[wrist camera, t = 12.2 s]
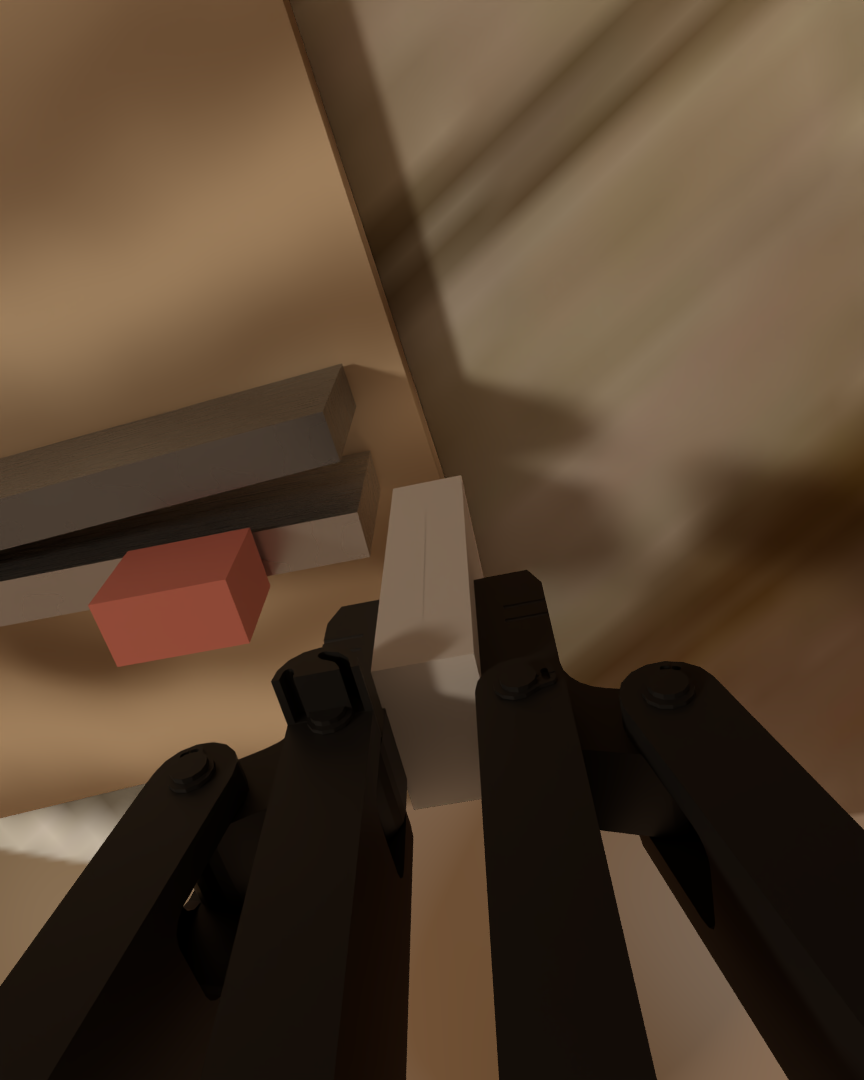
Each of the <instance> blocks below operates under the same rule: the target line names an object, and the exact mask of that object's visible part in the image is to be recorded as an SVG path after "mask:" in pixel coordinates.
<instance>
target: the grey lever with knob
mask: <svg viewBox="0 0 864 1080" xmlns="http://www.w3.org/2000/svg"><path fill="white" fill-rule="evenodd" d="M355 409H356V404H355V401H354V398H353V395H352V392H351V389H350V386H349V383H348V380H347V377H346V374H345V371H344V368H343V364H338V365H335V366H331V367H327V368H324V369H320V370H317V371H313V372H309V373H306V374H302V375H299V376H295V377H291V378H288V379H284V380H281V381H277V382H273V383H270V384H266V385H263V386H259V387H255V388H252V389H248V390H245V391H241V392H237V393H234V394H230V395H227V396H223V397H219V398H216V399H212V400H209V401H205V402H201V403H198V404H194V405H191V406H187V407H183V408H180V409H176V410H173V411H169V412H165V413H162V414H158V415H155V416H151V417H147V418H144V419H140V420H137V421H133V422H129V423H126V424H122V425H119V426H115V427H111V428H108V429H104V430H101V431H97V432H93V433H90V434H86V435H83V436H79V437H75V438H72V439H68V440H65V441H61V442H57V443H54V444H50V445H47V446H43V447H39V448H36V449H32V450H29V451H25V452H21V453H18V454H14V455H11V456H7V457H3V458H0V550H4V549H8V548H12V547H15V546H19V545H23V544H27V543H31V542H35V541H38V540H42V539H46V538H50V537H54V536H57V535H61V534H65V533H69V532H73V531H77V530H80V529H84V528H88V527H92V526H96V525H100V524H103V523H107V522H111V521H115V520H119V519H122V518H126V517H130V516H134V515H138V514H142V513H145V512H149V511H153V510H157V509H161V508H165V507H168V506H172V505H176V504H180V503H184V502H188V501H191V500H195V499H199V498H203V497H207V496H210V495H214V494H218V493H222V492H226V491H230V490H233V489H237V488H241V487H245V486H249V485H253V484H256V483H260V482H264V481H268V480H272V479H276V478H279V477H283V476H287V475H291V474H295V473H298V472H302V471H306V470H310V469H314V468H318V467H321V466H325V465H329V464H333V463H337V462H340V461H341V457H342V454H343V450H344V447H345V444H346V440H347V437H348V433H349V430H350V426H351V423H352V420H353V416H354V413H355Z"/></svg>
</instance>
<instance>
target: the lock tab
mask: <svg viewBox="0 0 864 1080" xmlns="http://www.w3.org/2000/svg"><path fill="white" fill-rule="evenodd" d="M269 589H270V583H269V580H268V578H267V575H266V572H265V569H264V566H263V563H262V561H261V558H260V555H259V552H258V549H257V547H256V544H255V541H254V538H253V535H252V532H251V530H250V528H245V529H240V530H235V531H229V532H224V533H219V534H214V535H209V536H204V537H199V538H194V539H188V540H183V541H178V542H173V543H168V544H163V545H158V546H153V547H148V548H142V549H137V550H132V551H127V553H126V554H125V556H124V557H123V558H122V560H121V561H120V562H119V564H118V565H117V566H116V568H115V569H114V571H113V572H112V573H111V575H110V576H109V577H108V579H107V580H106V581H105V583H104V584H103V586H102V587H101V588H100V590H99V591H98V592H97V594H96V595H95V596H94V598H93V599H92V601H91V602H90V603H89V605H88V607H89V609H90V611H91V613H92V615H93V617H94V619H95V621H96V623H97V625H98V627H99V630H100V632H101V634H102V636H103V638H104V640H105V642H106V644H107V646H108V648H109V650H110V652H111V655H112V657H113V659H114V661H115V663H116V665H117V667H121V666H126V665H132V664H137V663H143V662H149V661H154V660H160V659H165V658H171V657H176V656H182V655H187V654H193V653H199V652H204V651H210V650H215V649H221V648H226V647H232V646H237V645H243V644H249V643H250V641H251V638H252V636H253V633H254V630H255V628H256V625H257V622H258V619H259V617H260V614H261V611H262V608H263V606H264V603H265V600H266V597H267V595H268V592H269Z"/></svg>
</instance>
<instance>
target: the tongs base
mask: <svg viewBox="0 0 864 1080" xmlns="http://www.w3.org/2000/svg"><path fill="white" fill-rule="evenodd" d="M380 491H381V489H380V485H379V482H378V478H377V474H376V470H375V467H374V463H373V459H372V455H371V451H365V452H360V453H355V454H351V455H346V456H342V457H341V461H340V462H337V463H333V464H329V465H325V466H321V467H318V468H314V469H310V470H306V471H302V472H298V473H295V474H291V475H287V476H283V477H279V478H276V479H272V480H268V481H264V482H260V483H256V484H253V485H249V486H245V487H241V488H237V489H233V490H230V491H226V492H222V493H218V494H214V495H210V496H207V497H203V498H199V499H195V500H191V501H188V502H184V503H180V504H176V505H172V506H168V507H165V508H161V509H157V510H153V511H149V512H145V513H142V514H138V515H134V516H130V517H126V518H122V519H119V520H115V521H111V522H107V523H103V524H100V525H96V526H92V527H88V528H84V529H80V530H77V531H73V532H69V533H65V534H61V535H57V536H54V537H50V538H46V539H42V540H38V541H35V542H31V543H27V544H23V545H19V546H15V547H12V548H8V549H4V550H0V627H1V626H7V625H12V624H17V623H22V622H28V621H33V620H38V619H44V618H49V617H54V616H60V615H65V614H70V613H76V612H81V611H86V610H90V609H89V607H88V605H89V603H90V602H91V601H92V599H93V598H94V596H95V595H96V594H97V592H98V591H99V590H100V588H101V587H102V586H103V584H104V583H105V581H106V580H107V579H108V577H109V576H110V575H111V573H112V572H113V571H114V569H115V568H116V566H117V565H118V564H119V562H120V561H121V560H122V558H123V557H124V556H125V554H126V553H127V551H132V550H137V549H142V548H148V547H153V546H158V545H163V544H168V543H173V542H178V541H183V540H188V539H194V538H199V537H204V536H209V535H214V534H219V533H224V532H229V531H235V530H240V529H245V528H250V530H251V532H252V535H253V538H254V541H255V544H256V547H257V549H258V552H259V555H260V558H261V561H262V563H263V566H264V569H265V572H266V575H267V576H272V575H277V574H282V573H288V572H293V571H298V570H304V569H309V568H314V567H320V566H325V565H330V564H335V563H341V562H346V561H351V560H357V559H362V558H367V557H370V554H371V548H372V542H373V535H374V529H375V523H376V516H377V510H378V503H379V497H380Z"/></svg>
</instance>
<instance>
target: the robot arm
mask: <svg viewBox="0 0 864 1080" xmlns="http://www.w3.org/2000/svg"><path fill="white" fill-rule="evenodd" d="M271 683H272V686H273V688H274V691H275V694H276V696H277V699H278V702H279V704H280V707H281V709H282V712H283V715H284V717H285V720H286V722H287V725H288V726H287V730H286V734H285V738H284V739H282V740H281V741H279V742H278V743H276V744H274V745H272V746H270V747H268V748H266V749H263V750H261V751H258V752H256V753H253V754H251V755H248V756H246V757H243V758H241V759H238V757H237V755H236V752H235V751H234V750H233V749H232V748H230V747H229V746H228V745H227V744H222V743H216V742H210V743H203V744H197V745H195V746H192V747H190V748H187V749H184V750H182V751H180V752H178V753H177V754H175V755H174V756H172V757H171V758H169V759H168V760H166V761H165V762H164V763H163V764H162V765H161V766H160V767H159V768H158V769H157V770H156V771H155V773H154V774H153V775H152V776H151V778H150V779H149V781H148V782H147V783H146V785H145V786H144V787H143V789H142V790H141V792H140V793H139V794H138V796H137V797H136V799H135V800H134V801H133V803H132V804H131V806H130V807H129V808H128V810H127V811H126V812H125V814H124V815H123V817H122V818H121V819H120V821H119V822H118V824H117V825H116V826H115V828H114V829H113V831H112V832H111V833H110V835H109V836H108V837H107V839H106V840H105V842H104V843H103V844H102V846H101V847H100V849H99V850H98V851H97V853H96V854H95V855H94V857H93V858H92V860H91V861H90V862H89V864H88V865H87V867H86V868H85V869H84V871H83V872H82V874H81V875H80V876H79V878H78V879H77V881H76V882H75V883H74V885H73V886H72V887H71V889H70V890H69V892H68V893H67V895H66V896H65V897H64V899H63V900H62V901H61V903H60V904H59V905H58V907H57V908H56V910H55V911H54V913H53V914H52V915H51V917H50V918H49V919H48V921H47V922H46V924H45V925H44V926H43V928H42V929H41V930H40V932H39V933H38V935H37V936H36V937H35V939H34V940H33V942H32V943H31V944H30V946H29V947H28V949H27V950H26V951H25V953H24V954H23V956H22V957H21V958H20V960H19V961H18V962H17V964H16V965H15V967H14V968H13V969H12V971H11V972H10V973H9V975H8V976H7V978H6V979H5V980H4V982H3V983H2V985H1V986H0V1080H406V1062H407V1058H406V1057H407V1029H408V995H409V962H410V929H411V896H412V862H413V833H412V829H411V824H410V821H409V818H408V815H407V812H406V796H407V790H408V793H409V796H410V799H411V802H412V806H413V809H414V810H415V809H422V808H428V807H435V806H441V805H447V804H453V803H460V802H466V801H472V800H479V799H482V813H483V830H484V846H485V862H486V876H487V877H486V878H487V893H488V910H489V924H490V942H491V958H492V973H493V989H494V1005H495V1021H496V1037H497V1052H498V1067H499V1080H657V1078H656V1074H655V1069H654V1065H653V1061H652V1056H651V1052H650V1048H649V1043H648V1039H647V1034H646V1030H645V1026H644V1021H643V1017H642V1013H641V1008H640V1004H639V1000H638V995H637V991H636V986H635V982H634V978H633V973H632V969H631V964H630V960H629V956H628V951H627V947H626V943H625V938H624V934H623V929H622V926H621V921H620V917H619V913H618V908H617V903H616V899H615V895H614V890H613V886H612V881H611V877H610V873H609V869H608V864H607V860H606V855H605V851H604V846H603V842H602V838H601V833H600V830H603V831H611V832H619V833H627V834H635V835H640V838H641V841H642V844H643V846H644V848H645V849H646V851H647V853H648V854H649V856H650V857H651V859H652V861H653V862H654V864H655V865H656V867H657V869H658V870H659V872H660V874H661V875H662V877H663V878H664V880H665V882H666V883H667V885H668V886H669V888H670V890H671V891H672V893H673V894H674V896H675V898H676V899H677V901H678V902H679V904H680V906H681V907H682V909H683V910H684V912H685V914H686V915H687V917H688V919H689V920H690V922H691V923H692V925H693V926H694V928H695V930H696V931H697V933H698V935H699V936H700V938H701V939H702V941H703V943H704V944H705V946H706V947H707V949H708V951H709V952H710V954H711V955H712V957H713V959H714V960H715V962H716V964H717V965H718V967H719V968H720V970H721V971H722V973H723V975H724V976H725V978H726V980H727V981H728V983H729V984H730V986H731V987H732V989H733V991H734V992H735V994H736V996H737V997H738V999H739V1000H740V1002H741V1004H742V1005H743V1006H744V1009H745V1010H746V1012H747V1013H748V1015H749V1017H750V1018H751V1019H752V1021H753V1023H754V1024H755V1026H756V1028H757V1029H758V1031H759V1033H760V1034H761V1036H762V1037H763V1039H764V1041H765V1042H766V1044H767V1045H768V1047H769V1049H770V1050H771V1052H772V1053H773V1055H774V1057H775V1058H776V1060H777V1062H778V1063H779V1065H780V1066H781V1068H782V1070H783V1071H784V1073H785V1074H786V1076H787V1078H788V1079H789V1080H864V830H863V829H862V827H861V826H859V824H858V823H857V822H856V821H855V820H854V819H853V818H852V817H851V816H850V815H849V814H848V813H847V812H846V811H845V810H844V809H843V808H842V807H841V806H840V805H839V804H838V803H837V802H836V801H835V800H834V799H833V798H832V797H831V796H830V795H829V794H828V793H827V792H826V791H825V790H824V789H823V788H822V787H821V786H820V785H819V784H818V782H817V781H816V780H815V779H814V778H813V777H812V776H811V775H810V774H809V773H808V772H807V771H806V770H805V769H804V768H803V767H802V766H801V765H800V764H799V763H798V762H797V761H796V760H795V759H794V758H793V757H792V756H791V755H790V754H789V753H788V752H787V751H786V750H785V749H784V748H783V747H782V746H781V745H780V744H779V743H778V742H777V741H776V740H775V739H774V737H773V736H772V735H771V734H770V733H769V732H768V731H767V730H766V729H765V728H764V727H763V726H762V725H761V724H760V723H759V722H758V721H757V720H756V719H755V718H754V717H753V716H752V715H751V714H750V713H749V712H748V711H747V710H746V709H745V708H744V707H743V706H742V705H741V704H740V703H739V702H738V701H737V700H736V699H735V698H734V697H733V696H732V695H731V694H730V692H729V691H728V690H727V689H726V688H725V687H724V686H723V685H722V684H721V683H720V682H719V681H718V680H717V679H716V678H715V677H714V676H713V675H711V674H710V673H708V672H707V671H705V670H704V669H702V668H701V667H698V666H695V665H691V664H688V663H684V662H668V661H663V662H658V663H653V664H648V665H645V666H643V667H641V668H639V669H637V670H635V671H633V672H631V673H630V674H629V675H628V676H627V677H626V678H625V680H624V681H623V682H622V683H621V687H620V689H612V688H601V687H593V686H589V685H586V684H583V683H580V682H578V681H576V680H575V679H573V678H571V677H570V676H569V675H568V674H567V673H566V672H565V671H564V670H563V668H562V666H561V664H560V661H559V656H558V652H557V648H556V643H555V639H554V635H553V630H552V626H551V622H550V617H549V613H548V609H547V604H546V600H545V596H544V591H543V587H542V583H541V581H540V580H538V579H537V578H536V577H535V576H534V575H532V574H531V573H530V572H529V571H528V570H524V571H518V572H513V573H508V574H502V575H497V576H492V577H486V578H484V576H483V572H482V567H481V562H480V558H479V553H478V549H477V544H476V540H475V535H474V531H473V526H472V521H471V517H470V512H469V508H468V503H467V499H466V494H465V490H464V485H463V480H462V476H461V475H459V476H454V477H449V478H444V479H439V480H434V481H429V482H424V483H419V484H414V485H409V486H404V487H399V488H394V489H393V494H392V502H391V510H390V518H389V527H388V535H387V543H386V551H385V559H384V568H383V576H382V584H381V592H380V600H374V601H369V602H364V603H358V604H353V605H348V606H342V607H341V608H340V609H339V610H338V611H337V613H336V614H335V615H334V616H333V617H332V619H331V620H330V621H329V622H328V624H327V628H326V632H325V637H324V644H323V646H322V647H320V648H317V649H313V650H310V651H307V652H303V653H302V654H300V655H298V656H296V657H294V658H292V659H290V660H289V661H287V662H286V663H285V664H284V665H283V666H282V667H281V668H279V669H278V670H277V672H276V673H275V675H274V677H273V679H272V680H271ZM193 888H194V889H195V890H194V892H193V894H192V896H191V898H190V899H189V901H188V902H187V903H186V904H185V902H186V900H187V899H188V897H189V895H190V893H191V892H192V890H193ZM184 904H185V905H184ZM183 906H184V907H183Z"/></svg>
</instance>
